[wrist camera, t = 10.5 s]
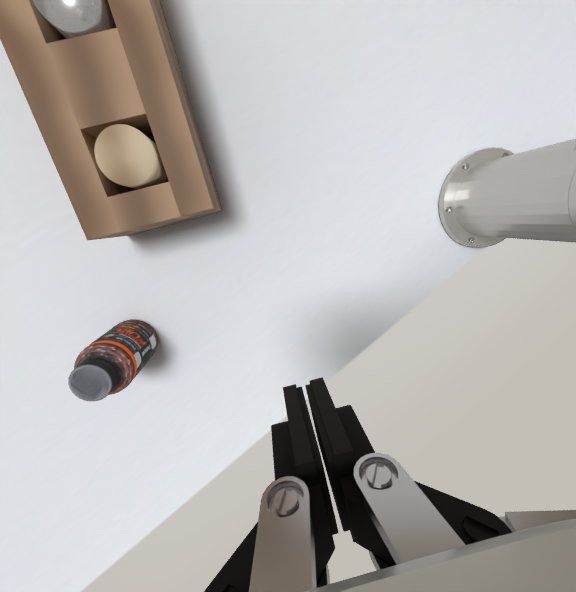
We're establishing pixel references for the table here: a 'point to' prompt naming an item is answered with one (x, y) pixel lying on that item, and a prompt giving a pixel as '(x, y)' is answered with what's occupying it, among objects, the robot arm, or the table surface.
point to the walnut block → (111, 113)
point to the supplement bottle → (112, 360)
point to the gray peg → (77, 16)
